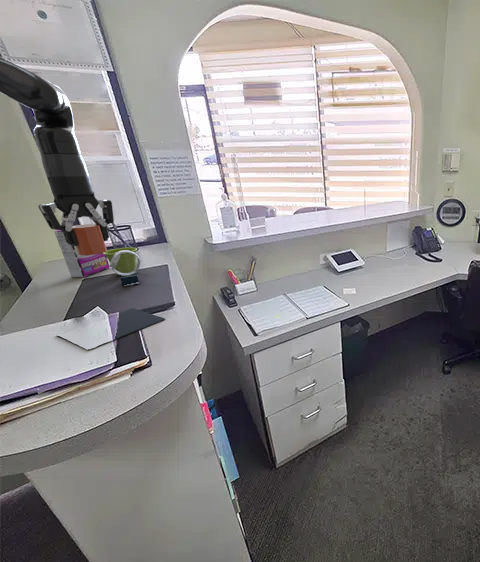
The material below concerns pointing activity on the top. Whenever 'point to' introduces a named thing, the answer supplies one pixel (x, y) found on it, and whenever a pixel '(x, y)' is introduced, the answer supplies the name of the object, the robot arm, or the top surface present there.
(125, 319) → the desk mat
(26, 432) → the top surface
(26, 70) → the robot arm
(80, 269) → the candy bar box
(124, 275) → the watch
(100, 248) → the orange cylinder
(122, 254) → the plant pot
